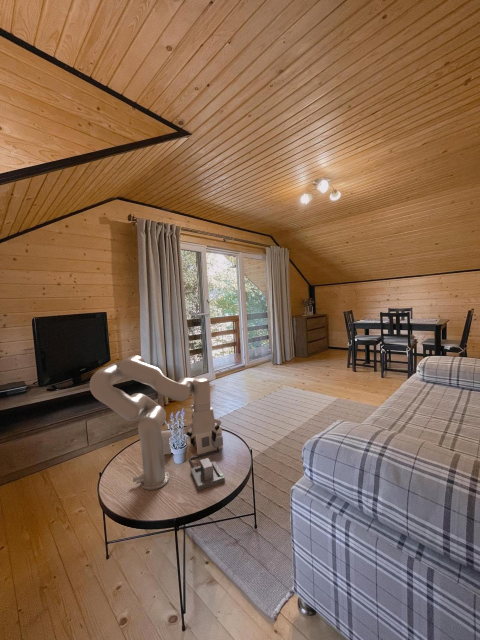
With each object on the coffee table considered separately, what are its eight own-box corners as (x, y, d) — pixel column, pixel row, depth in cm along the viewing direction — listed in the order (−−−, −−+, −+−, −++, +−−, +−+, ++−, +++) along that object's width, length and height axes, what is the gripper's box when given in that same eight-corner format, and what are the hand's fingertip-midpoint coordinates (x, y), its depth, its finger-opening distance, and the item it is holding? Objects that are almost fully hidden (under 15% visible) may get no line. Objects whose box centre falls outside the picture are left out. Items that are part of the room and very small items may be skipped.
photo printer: (176, 449, 149) (174, 428, 149) (175, 453, 145) (173, 431, 144) (156, 452, 148) (155, 430, 147) (155, 456, 144) (153, 434, 143)
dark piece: (194, 471, 128) (193, 464, 128) (188, 459, 139) (188, 452, 139) (225, 461, 135) (225, 454, 135) (218, 450, 145) (218, 444, 145)
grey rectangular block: (204, 481, 120) (203, 468, 119) (200, 472, 126) (199, 460, 126) (213, 478, 121) (212, 465, 121) (209, 469, 128) (208, 457, 127)
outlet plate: (200, 458, 139) (198, 436, 138) (197, 453, 144) (195, 431, 143) (225, 451, 145) (223, 429, 144) (221, 446, 150) (220, 425, 149)
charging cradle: (198, 490, 115) (198, 485, 115) (190, 472, 128) (190, 468, 128) (224, 481, 120) (224, 476, 120) (214, 465, 133) (214, 460, 132)
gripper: (184, 412, 115) (186, 451, 116) (222, 405, 122) (224, 442, 123) (181, 406, 122) (182, 443, 123) (217, 400, 129) (218, 435, 130)
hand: (203, 442), depth 123 cm, fingers open, 9 cm apart
